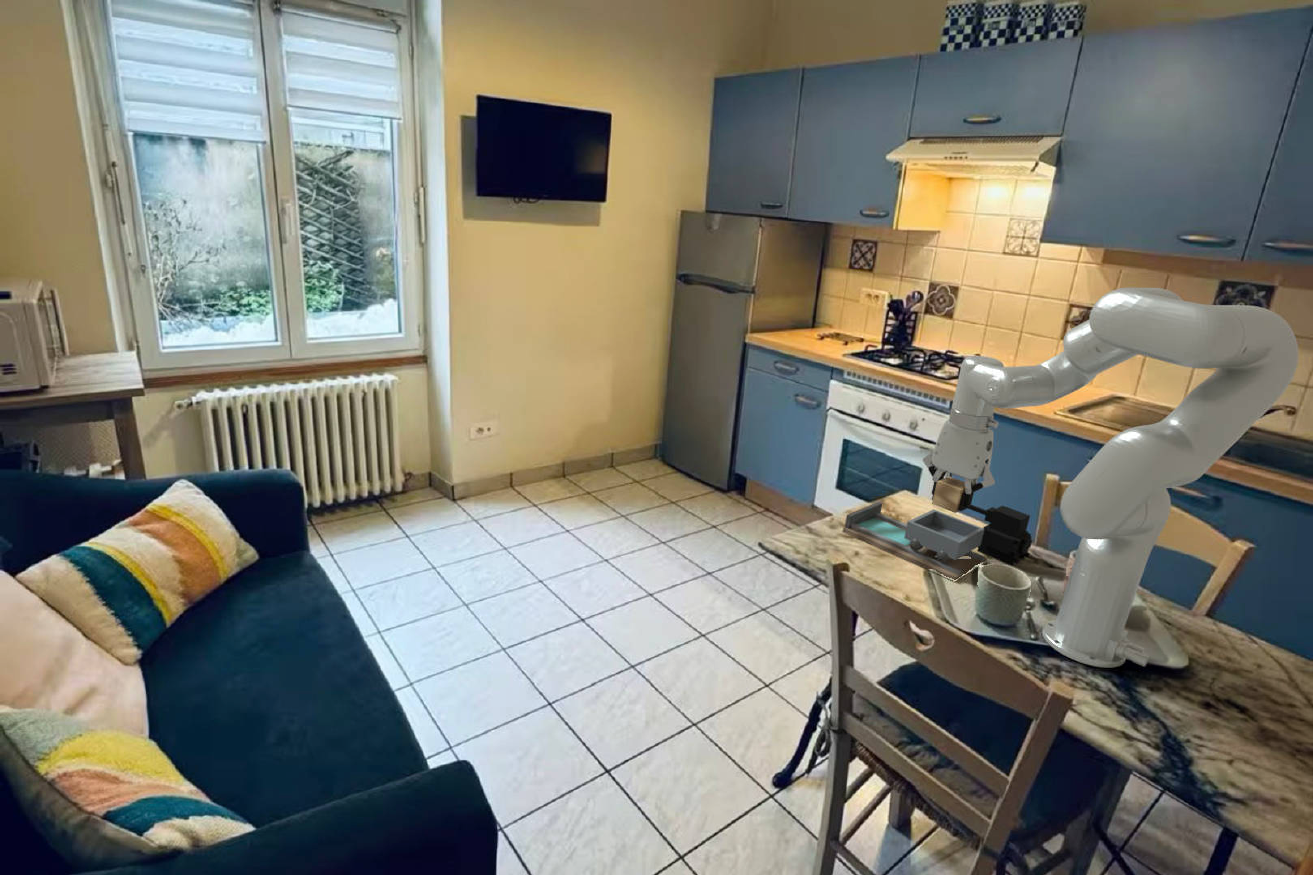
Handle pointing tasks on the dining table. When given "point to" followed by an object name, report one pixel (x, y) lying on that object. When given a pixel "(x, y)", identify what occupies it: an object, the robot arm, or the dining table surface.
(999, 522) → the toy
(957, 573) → the track
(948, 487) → the block
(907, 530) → the cart
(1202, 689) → the dining table surface
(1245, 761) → the dining table surface
